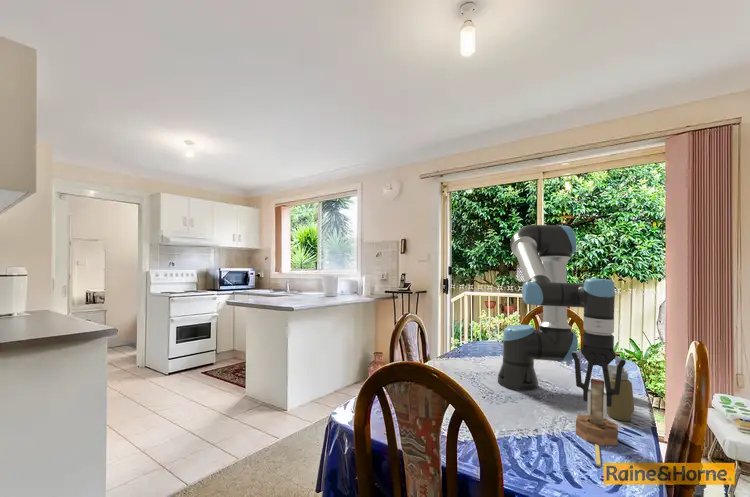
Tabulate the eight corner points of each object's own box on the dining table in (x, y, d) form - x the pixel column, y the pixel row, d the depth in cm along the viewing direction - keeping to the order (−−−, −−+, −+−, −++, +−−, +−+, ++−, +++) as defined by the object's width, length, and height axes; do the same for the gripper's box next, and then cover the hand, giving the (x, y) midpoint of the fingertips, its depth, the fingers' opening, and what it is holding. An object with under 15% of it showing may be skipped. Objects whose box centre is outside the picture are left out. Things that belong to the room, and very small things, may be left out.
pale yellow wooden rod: (600, 466, 88) (600, 464, 88) (596, 465, 89) (596, 463, 89) (598, 446, 98) (598, 445, 98) (595, 445, 98) (595, 444, 98)
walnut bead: (574, 437, 103) (574, 423, 103) (578, 425, 111) (578, 411, 111) (617, 449, 97) (617, 434, 97) (617, 435, 105) (618, 421, 105)
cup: (631, 399, 133) (631, 372, 134) (606, 397, 135) (607, 369, 135) (620, 391, 141) (621, 365, 142) (597, 389, 143) (598, 363, 143)
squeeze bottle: (635, 425, 112) (636, 366, 112) (604, 418, 116) (605, 361, 117) (633, 416, 119) (634, 360, 119) (604, 410, 123) (604, 356, 123)
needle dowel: (589, 437, 103) (590, 380, 104) (590, 433, 106) (591, 377, 106) (603, 441, 101) (603, 383, 102) (603, 436, 104) (604, 380, 104)
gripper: (565, 330, 106) (563, 411, 105) (633, 339, 97) (631, 428, 96) (568, 327, 112) (566, 404, 111) (632, 334, 103) (631, 418, 102)
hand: (596, 415), depth 104 cm, fingers closed on needle dowel, 3 cm apart
